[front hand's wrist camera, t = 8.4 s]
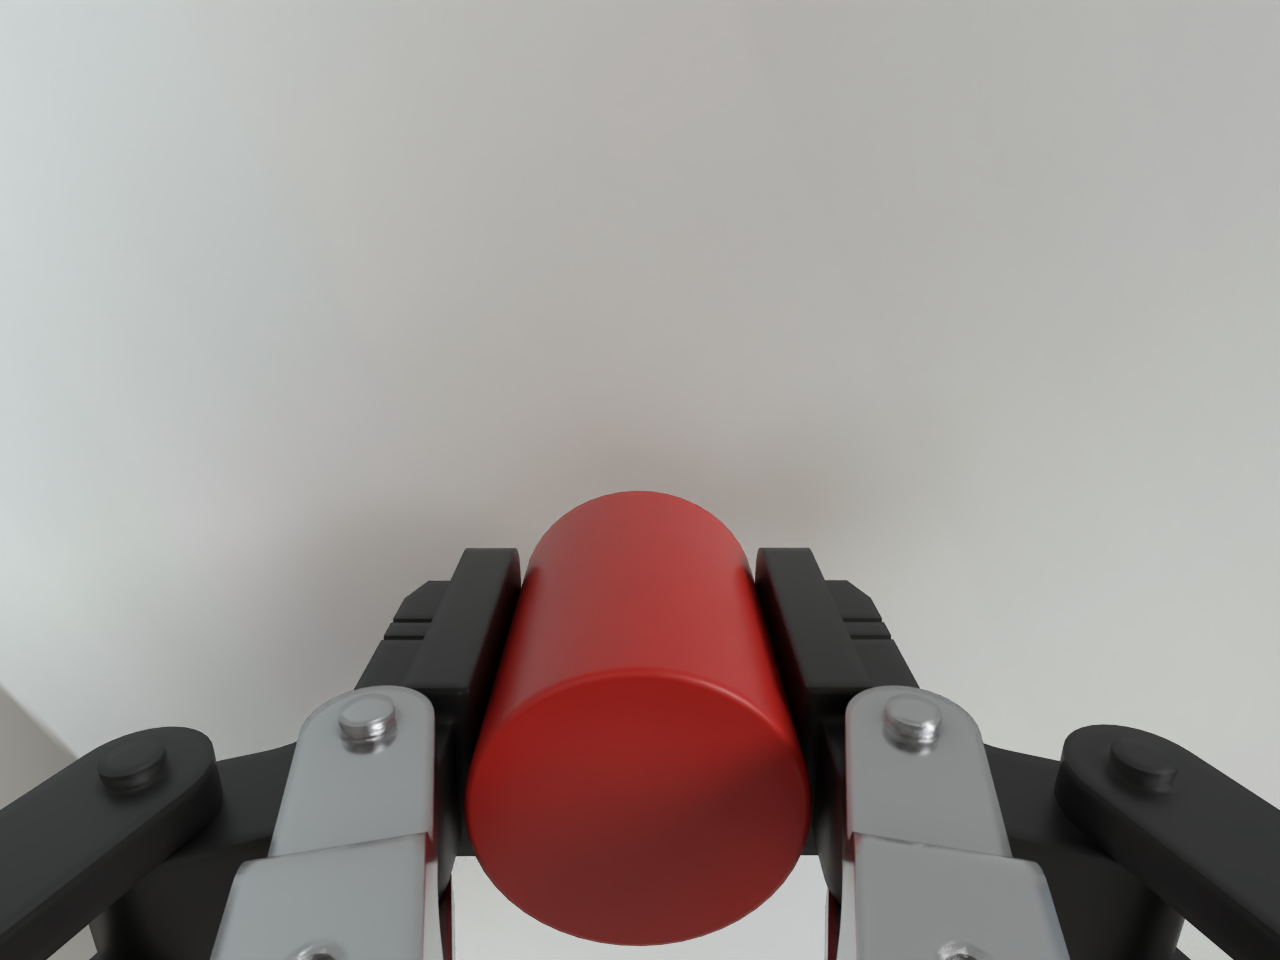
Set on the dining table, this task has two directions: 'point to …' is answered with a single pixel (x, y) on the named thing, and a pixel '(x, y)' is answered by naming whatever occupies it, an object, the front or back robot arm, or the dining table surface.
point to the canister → (638, 732)
